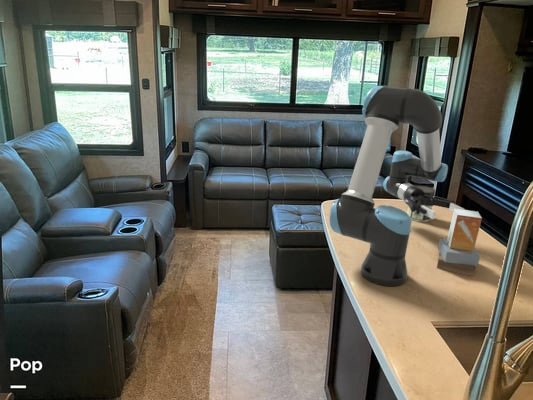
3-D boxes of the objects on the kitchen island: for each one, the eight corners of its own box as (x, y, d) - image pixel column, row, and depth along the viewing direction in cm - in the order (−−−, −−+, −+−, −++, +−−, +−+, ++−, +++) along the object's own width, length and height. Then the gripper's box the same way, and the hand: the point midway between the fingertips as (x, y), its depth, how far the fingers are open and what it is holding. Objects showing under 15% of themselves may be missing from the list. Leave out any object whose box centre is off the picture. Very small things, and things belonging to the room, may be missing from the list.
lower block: (473, 278, 146) (475, 267, 144) (436, 269, 150) (438, 259, 149) (472, 263, 156) (475, 253, 155) (438, 255, 161) (440, 246, 159)
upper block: (477, 265, 146) (480, 255, 145) (444, 262, 147) (446, 251, 146) (468, 251, 156) (470, 241, 155) (437, 248, 158) (439, 238, 156)
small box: (449, 248, 148) (457, 214, 144) (446, 241, 154) (453, 208, 150) (473, 252, 147) (482, 217, 142) (470, 244, 153) (478, 211, 148)
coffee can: (425, 214, 199) (430, 185, 195) (432, 222, 190) (438, 193, 185) (403, 212, 199) (408, 184, 195) (410, 221, 190) (415, 191, 185)
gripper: (434, 200, 178) (472, 220, 160) (384, 205, 170) (419, 226, 151) (437, 184, 176) (477, 201, 157) (387, 188, 167) (422, 207, 149)
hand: (448, 214), depth 154 cm, fingers open, 13 cm apart
